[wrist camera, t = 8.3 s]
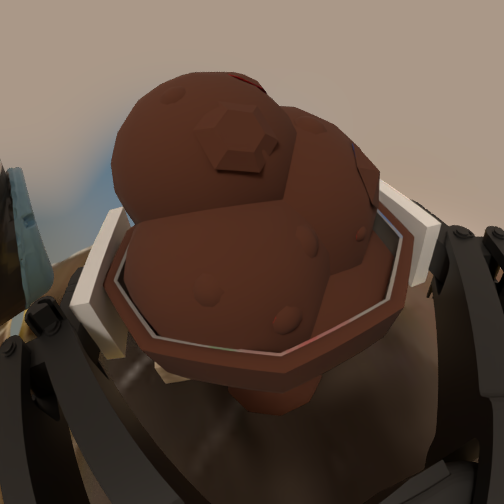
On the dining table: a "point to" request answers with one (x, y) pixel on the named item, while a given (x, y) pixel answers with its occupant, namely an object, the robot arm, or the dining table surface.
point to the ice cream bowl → (250, 241)
